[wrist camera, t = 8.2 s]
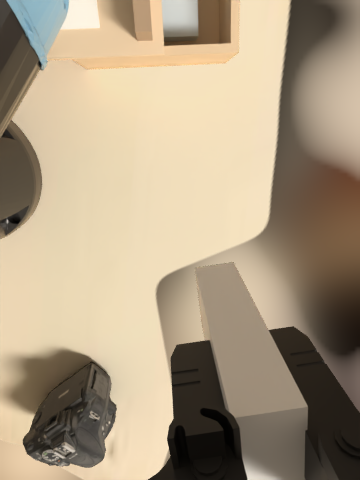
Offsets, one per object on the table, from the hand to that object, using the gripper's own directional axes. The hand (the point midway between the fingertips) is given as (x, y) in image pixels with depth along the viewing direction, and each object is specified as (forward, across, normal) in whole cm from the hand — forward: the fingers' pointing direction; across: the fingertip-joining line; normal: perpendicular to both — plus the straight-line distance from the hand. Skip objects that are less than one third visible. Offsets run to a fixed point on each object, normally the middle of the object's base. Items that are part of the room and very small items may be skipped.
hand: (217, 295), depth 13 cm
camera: (+26, -18, -29) cm, 43 cm away
